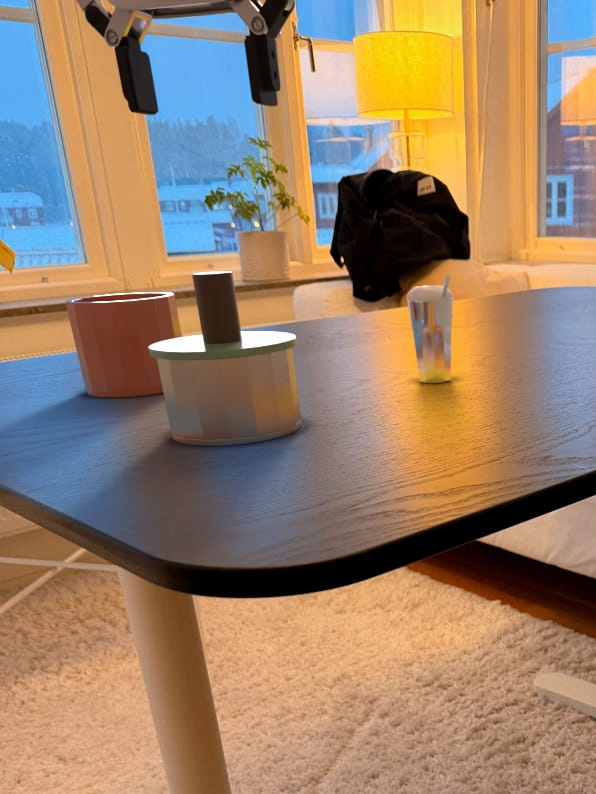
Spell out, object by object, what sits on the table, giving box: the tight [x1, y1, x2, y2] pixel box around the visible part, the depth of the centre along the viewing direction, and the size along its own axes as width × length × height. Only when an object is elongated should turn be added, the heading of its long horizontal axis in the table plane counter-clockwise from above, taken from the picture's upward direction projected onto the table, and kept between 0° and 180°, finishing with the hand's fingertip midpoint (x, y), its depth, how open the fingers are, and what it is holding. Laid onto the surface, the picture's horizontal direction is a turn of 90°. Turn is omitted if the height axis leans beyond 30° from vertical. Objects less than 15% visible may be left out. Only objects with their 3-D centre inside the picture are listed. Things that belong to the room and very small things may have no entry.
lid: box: [148, 270, 298, 360], centre depth 69 cm, size 11×11×6 cm
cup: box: [65, 291, 183, 398], centre depth 92 cm, size 10×10×9 cm
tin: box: [157, 347, 302, 447], centre depth 72 cm, size 10×10×6 cm
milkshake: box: [406, 275, 454, 384], centre depth 88 cm, size 4×5×10 cm
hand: (204, 109), depth 65 cm, fingers open, 9 cm apart
